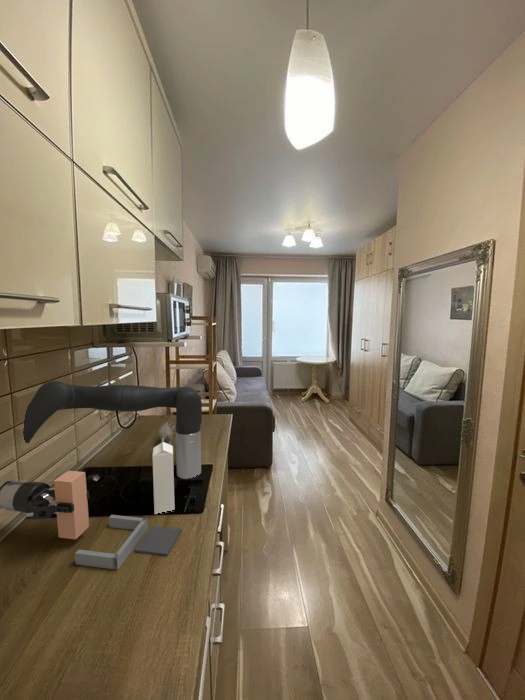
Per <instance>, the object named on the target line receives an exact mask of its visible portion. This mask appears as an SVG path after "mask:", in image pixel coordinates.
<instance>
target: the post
mask: <svg viewBox="0 0 525 700" xmlns="http://www.w3.org/2000/svg"><path fill="white" fill-rule="evenodd" d="M53 487H54V489H55V501H56V502H59V503H60V502H62V503H72V504H74V511H73V512H72V513H62V512H59V513H56V521H57V533H58V538H60V539H68V540H69V539H71V540H77V539H78V538H79V537H80V536H81V535H82V534H83V533H84V532H85V531H86V530H87V529H88V528H89V527H90V521H89V520H90V519H89V518H90V517H89V504H88V499H87V491H88V490H87V477H86V471H76V470H67V471H66V472H64V473H63V474H61V475H60V476H59V477H57V478H56V479H54V480H53Z"/></svg>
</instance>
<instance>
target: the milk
mask: <svg viewBox="0 0 525 700" xmlns="http://www.w3.org/2000/svg"><path fill="white" fill-rule="evenodd" d="M174 469H175V467H174V446H173V445H172V444H171V445H169V444H168V443H165V442H162V443H160V442H159V444H158V445H156V446H155V447H152V478H153V484H152V485H153V507H154V509H153V511H154V515H158V513H160V514H163V513H162V512H165V513H168V512H167V511H171V512H173V511H172V510H175V509H176V508H175V479H174V477H175V476H174Z"/></svg>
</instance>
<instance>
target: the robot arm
mask: <svg viewBox="0 0 525 700" xmlns="http://www.w3.org/2000/svg"><path fill="white" fill-rule="evenodd" d="M202 402H203V401H202V398H201V395H200V394H199V393H198V392H197V391H196V389H194V388H192V387H189V386H179V387H178V386H177V387H156V386H148V385H147V386H145V385H132V384H111V385H110V384H109V385H98V386H85V385H84V386H83V385H76V384H75V385H74V384H69V383H65V382H62V381H59V380H57V381H56V380H54V381H53V380H51V381H48V382H46V383H43V384H42V385H40V387H39V388H38V389H37V391H36V393H35V394H34V396H33V397H32V399H31V400H30V402H29V403H28V405H27V407H26V408H27V410H26V414H25V420H24V429H23V430H24V431H23V434H24V435H23V436H24V440H25V442H26V443H30V442H31V441H32V439H33V438H34V436H35V435H36V434H37V432H38V431H39V429H41V427H42V426H43V425H44V423H46V421H47V420H48V419H50V418H51V417H52V416H53V415H54V414H55V413H56V412H57V411H62V410H71V409H72V410H73V409H74V410H75V409H95V410H101V411H107V412H108V411H109V412H119V413H120V412H122V413H124V412H126V413H127V412H128V413H130V412H132V413H133V412H141V411H146V410H150V409H155V408H172V409H175V412H176V413H175V414H176V416H175V417H176V418H175V419H176V422H175V426H176V431H175V454H176V455H175V457H176V460H175V461H176V462H175V463H176V476H177V477H178V478H180V479H184V480H189V478H190V479H194V478H196V476H197V475H198V476H200V475H201V473H202V451H201V450H202V448H201V447H202V446H201V445H202V441H201V439H202V437H201V435H202V434H201V432H202V431H201V426H202V420H203V419H202V416H203V413H202V412H203V406H202V405H203V404H202ZM198 476H197V477H198ZM193 477H194V478H193ZM88 499H90V491H89V490H87V500H88ZM0 509H1V510H5V511H10V512H20V513H24V515H25V518H24V519H25V520H37V519H38V520H39V519H49V518H51V517H52V515H54V514H56V515H57V513H59V512H62V513H72V512H73V511H74V504H72V503H62V502H60V503H59V502H56V501H55V489H54V486H50V485H49V484H48V483H46V482H43V481H33V480H32V481H31V480H11V481H7V482H5V483H4V484H3V485H2V486H1V487H0ZM43 512H44V513H43Z"/></svg>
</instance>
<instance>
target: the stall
mask: <svg viewBox="0 0 525 700" xmlns="http://www.w3.org/2000/svg"><path fill="white" fill-rule="evenodd" d="M148 521H149V520H148V518H146V517H135V516H128V515H126V516H125V515H118V514H110V516H109V517H108V523H109V524H108V525H109V528H112V529H113V528H115V529H123V530H132V532H131V534H130V535H129V536H128V538H127V539H126V540H125V542H124V543H123V544H122V545H121V546H120V547H119V549H118V550H117V552H116V553H110V552H101V551H96V550H95V551H94V550H88V549H87V550H85V549H78V550H76V551H75V553H74V558H75V565H78V566H84V567H93V568H101V569H110V570H114V571H115V570H116V571H117V570H119V569H120V568H121V566H122V564H123V563H124V562H125V560H126V559H127V558H128V556H129V555H130V553H131V552H132V551H133V550H134V548H136V547H135V546H137V545H138V543H139V541H141V538H143V537H144V535H145V534H146V532H147V531H148V530H149V529H148V528H149V526H148V525H149V524H148Z"/></svg>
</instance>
